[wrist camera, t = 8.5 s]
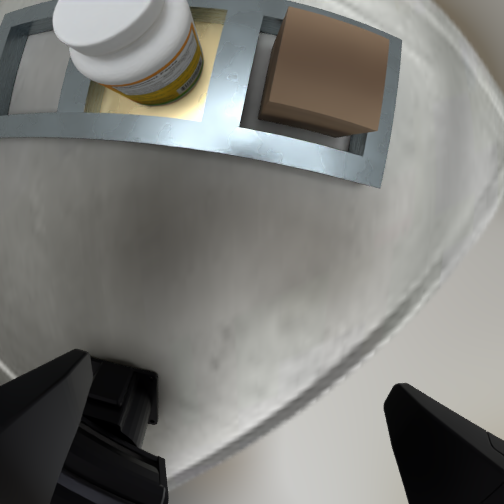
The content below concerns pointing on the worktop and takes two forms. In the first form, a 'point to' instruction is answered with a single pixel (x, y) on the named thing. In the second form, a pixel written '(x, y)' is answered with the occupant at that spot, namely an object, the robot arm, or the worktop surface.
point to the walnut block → (325, 76)
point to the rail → (196, 95)
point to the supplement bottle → (133, 46)
